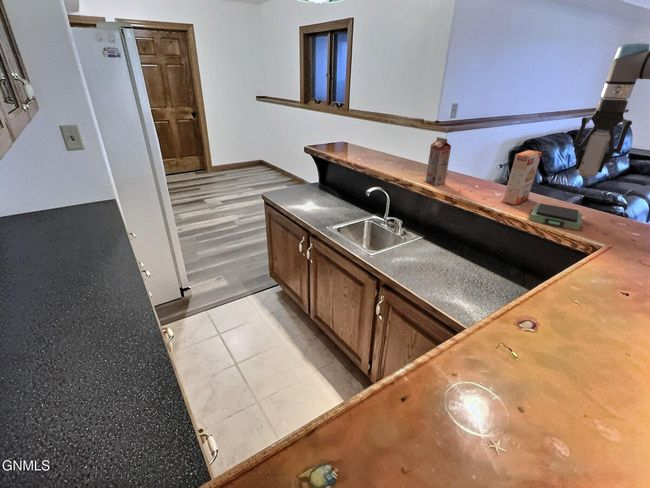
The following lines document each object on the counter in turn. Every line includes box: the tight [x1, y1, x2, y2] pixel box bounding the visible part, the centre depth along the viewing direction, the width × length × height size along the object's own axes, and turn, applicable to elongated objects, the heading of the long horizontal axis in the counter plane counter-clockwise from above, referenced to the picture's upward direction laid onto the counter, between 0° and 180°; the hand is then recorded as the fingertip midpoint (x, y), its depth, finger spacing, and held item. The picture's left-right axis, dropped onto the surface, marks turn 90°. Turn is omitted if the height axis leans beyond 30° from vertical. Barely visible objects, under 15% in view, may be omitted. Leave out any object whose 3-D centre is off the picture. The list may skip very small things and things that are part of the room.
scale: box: [529, 204, 583, 231], centre depth 133 cm, size 16×15×2 cm
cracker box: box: [502, 149, 543, 206], centre depth 149 cm, size 14×6×21 cm, turn 132°
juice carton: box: [425, 136, 452, 186], centre depth 171 cm, size 7×7×22 cm
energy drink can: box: [576, 129, 610, 178], centre depth 120 cm, size 6×6×15 cm
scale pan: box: [536, 202, 579, 222], centre depth 133 cm, size 13×12×1 cm
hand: (588, 170), depth 122 cm, fingers closed on energy drink can, 6 cm apart
